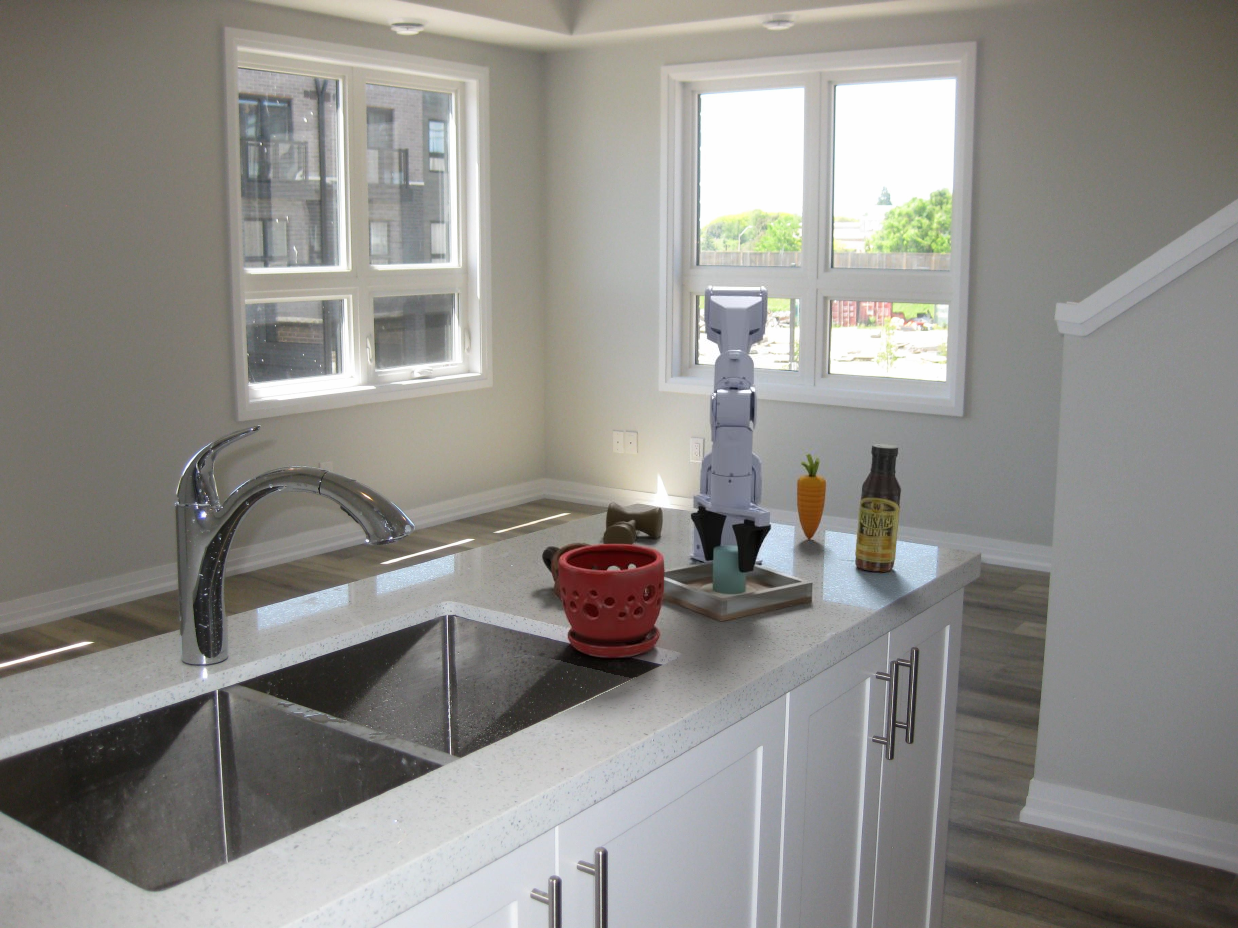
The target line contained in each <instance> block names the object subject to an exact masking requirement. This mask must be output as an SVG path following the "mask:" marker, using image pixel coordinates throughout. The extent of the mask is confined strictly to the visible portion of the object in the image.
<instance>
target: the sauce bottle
mask: <svg viewBox="0 0 1238 928" xmlns="http://www.w3.org/2000/svg"><path fill="white" fill-rule="evenodd" d="M870 454H871V455H872V456H871V466H870V467H871V468H870V472H869V474H868V475H867V477H866V479H865V480H864V482H863V483H862V486H861V494H860V496H861V497H860V501H859V508H858V520H857V521H858V522H857V529H856V530H857V533H856V543H855V551H854V552H855V559H854V560H855V563H854V564H855V566H856V567H857V568H859V569H861V570H864V571H867V572H879V573H880V572H881V573H886V572H889V571H891V570H893V569H894V566H895V560H896V553H897V544H898V543H897V540H898V531H899V519H900V518H899V517H900V511H901V510H900V509H901V506H900V503H901V495H902V494H901V493H902V488H901V486H900V483H899V481H898V479H897V477H896V471H897V470H896V463H897V457H898V455H899V446H897V445H894V444H886V443H874V444H872V446H871V453H870Z"/></svg>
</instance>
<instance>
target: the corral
mask: <svg viewBox="0 0 1238 928" xmlns="http://www.w3.org/2000/svg"><path fill="white" fill-rule="evenodd" d="M664 570H665V574H664V593H663V599H664V600H666V601H670V602H671V603H674V604H676V605H680V606H682V607H685V608H686V609H688V610H692V611H694V612H697V613H699V614H701V615H704V616H707V617H710V618H712V619H714V620H717V621H718V622H719V621H720V622H724V621H729V620H732V619H738V618H743V617H747V616H751V615H756V614H760V613H761V614H762V613H764V612H765V613H766V612H770V611H775V610H779V609H783V608H787V607H792V606H796V605H797V606H798V605H801V604H805V603H811V602H812V601H813V581H809V580H806V579H803V578H800V577H797V576H794V575H790V574H788V573H784V572H782V571H778V570H776V569H772V568H769V567H766V566H764V565H759V564H758V563H757V564H755V566H754V569H753V571H750V572H746V591H745V592H743V593H740V594H723V593H718V592H715V591H714V590H713V561H711V562H701V563H696V564H695V563H694V564H690V565H684V566H678V567H673V568H667V569H664ZM645 593H649V590H648V588H646V590H645Z"/></svg>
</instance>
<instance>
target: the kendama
mask: <svg viewBox="0 0 1238 928" xmlns="http://www.w3.org/2000/svg"><path fill="white" fill-rule="evenodd" d="M605 517H606V518H605V531H604V532H603V537H602V541H603V543H602V544H629V545H634V543H635V542H636V541H637V535H638V534H637V532H641V533H644V534H646V535H648V536H649V537H651V538H652V539H657V540H658V539H659V538H660V537H661V534H662V531H663V523H664V515H663V510H662V508H661V507H660V506H659V507H655V508H652V509H648V510H645V511H631V510H628V509H625V507H624V508H623V506H621V505H619V503H616V502H614V501H612V502H610V503H609V505H608V507H607V511H606V516H605Z"/></svg>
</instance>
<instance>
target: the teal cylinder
mask: <svg viewBox="0 0 1238 928" xmlns="http://www.w3.org/2000/svg"><path fill="white" fill-rule="evenodd" d="M713 590H714V591H715V592H718V593H723V594H740V593H743V592H745V591H746V572H745V573H742V572H740V571H739V566H738V547H737V546H734V545H723V546H717V547H715V548H714V556H713Z"/></svg>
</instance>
